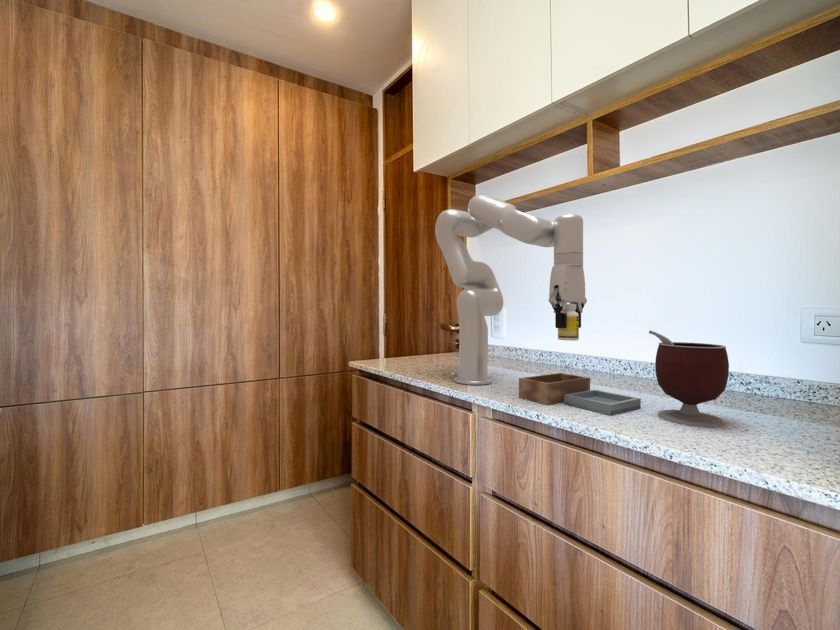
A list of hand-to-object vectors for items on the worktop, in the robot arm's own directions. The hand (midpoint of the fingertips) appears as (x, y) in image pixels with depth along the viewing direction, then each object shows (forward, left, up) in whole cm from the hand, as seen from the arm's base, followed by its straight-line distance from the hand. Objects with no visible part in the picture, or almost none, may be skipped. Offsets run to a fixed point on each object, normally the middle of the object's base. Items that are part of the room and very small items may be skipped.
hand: (568, 327), depth 111 cm
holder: (-4, -1, -20) cm, 20 cm away
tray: (+9, +1, -20) cm, 22 cm away
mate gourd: (+26, +7, -20) cm, 34 cm away
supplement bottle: (0, 0, -4) cm, 4 cm away
